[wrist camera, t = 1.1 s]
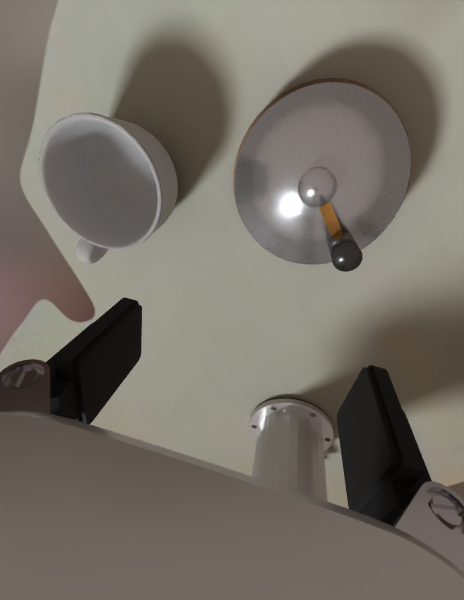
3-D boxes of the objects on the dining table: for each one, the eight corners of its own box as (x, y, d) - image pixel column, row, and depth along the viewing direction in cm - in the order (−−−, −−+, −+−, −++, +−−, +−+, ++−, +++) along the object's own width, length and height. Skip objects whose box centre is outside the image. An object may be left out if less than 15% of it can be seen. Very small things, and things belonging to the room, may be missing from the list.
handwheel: (425, 217, 24) (456, 234, 20) (279, 280, 30) (275, 305, 25) (370, 38, 20) (392, 5, 15) (210, 152, 25) (189, 154, 21)
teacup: (125, 92, 27) (65, 74, 20) (211, 176, 29) (183, 186, 22) (71, 203, 33) (12, 218, 27) (143, 265, 35) (106, 294, 29)
